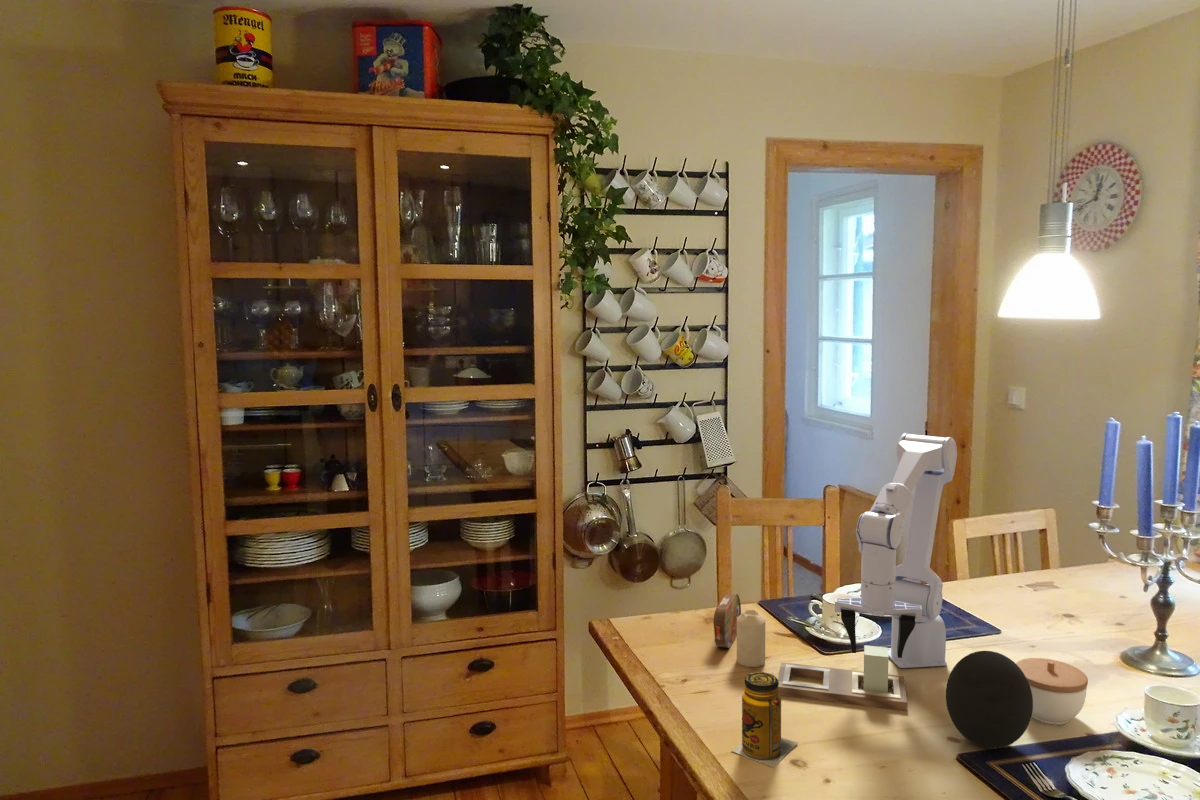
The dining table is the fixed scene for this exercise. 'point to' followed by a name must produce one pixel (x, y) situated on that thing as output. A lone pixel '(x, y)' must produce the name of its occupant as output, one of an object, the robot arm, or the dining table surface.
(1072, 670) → the lidded jar
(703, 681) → the dining table surface
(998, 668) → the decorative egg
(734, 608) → the tin
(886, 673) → the peg
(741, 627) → the candle
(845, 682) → the socket board
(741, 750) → the condiment
